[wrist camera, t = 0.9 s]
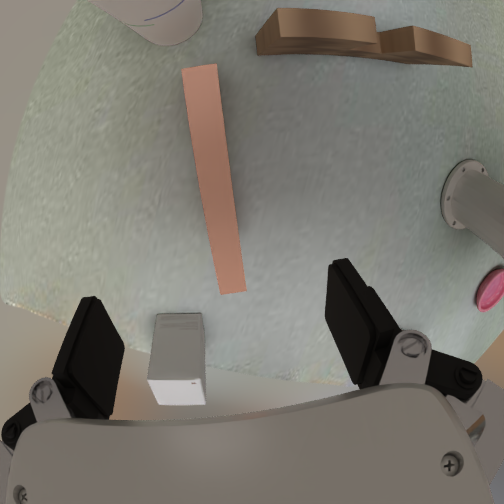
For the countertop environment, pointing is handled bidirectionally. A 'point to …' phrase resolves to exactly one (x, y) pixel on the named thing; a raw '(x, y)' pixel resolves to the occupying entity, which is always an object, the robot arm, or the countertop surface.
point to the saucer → (490, 290)
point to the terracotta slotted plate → (214, 174)
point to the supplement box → (178, 360)
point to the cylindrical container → (157, 18)
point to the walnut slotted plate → (356, 38)
